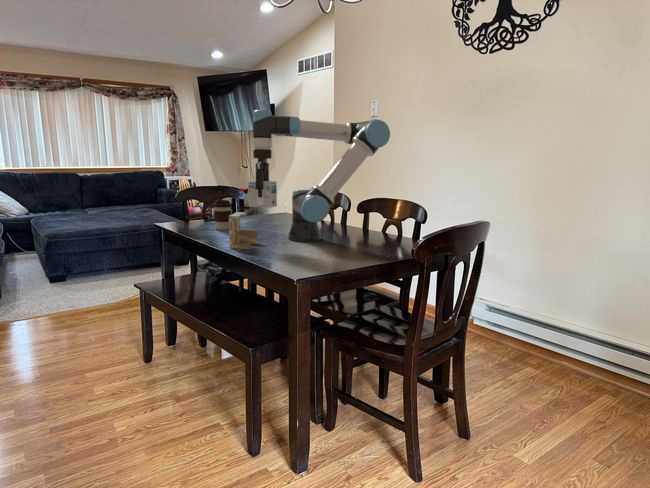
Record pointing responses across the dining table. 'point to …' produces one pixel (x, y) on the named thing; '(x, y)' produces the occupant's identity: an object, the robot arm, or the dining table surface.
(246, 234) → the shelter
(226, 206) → the coffee cup
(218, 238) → the dining table surface
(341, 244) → the dining table surface
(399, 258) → the dining table surface
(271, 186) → the light bulb box
